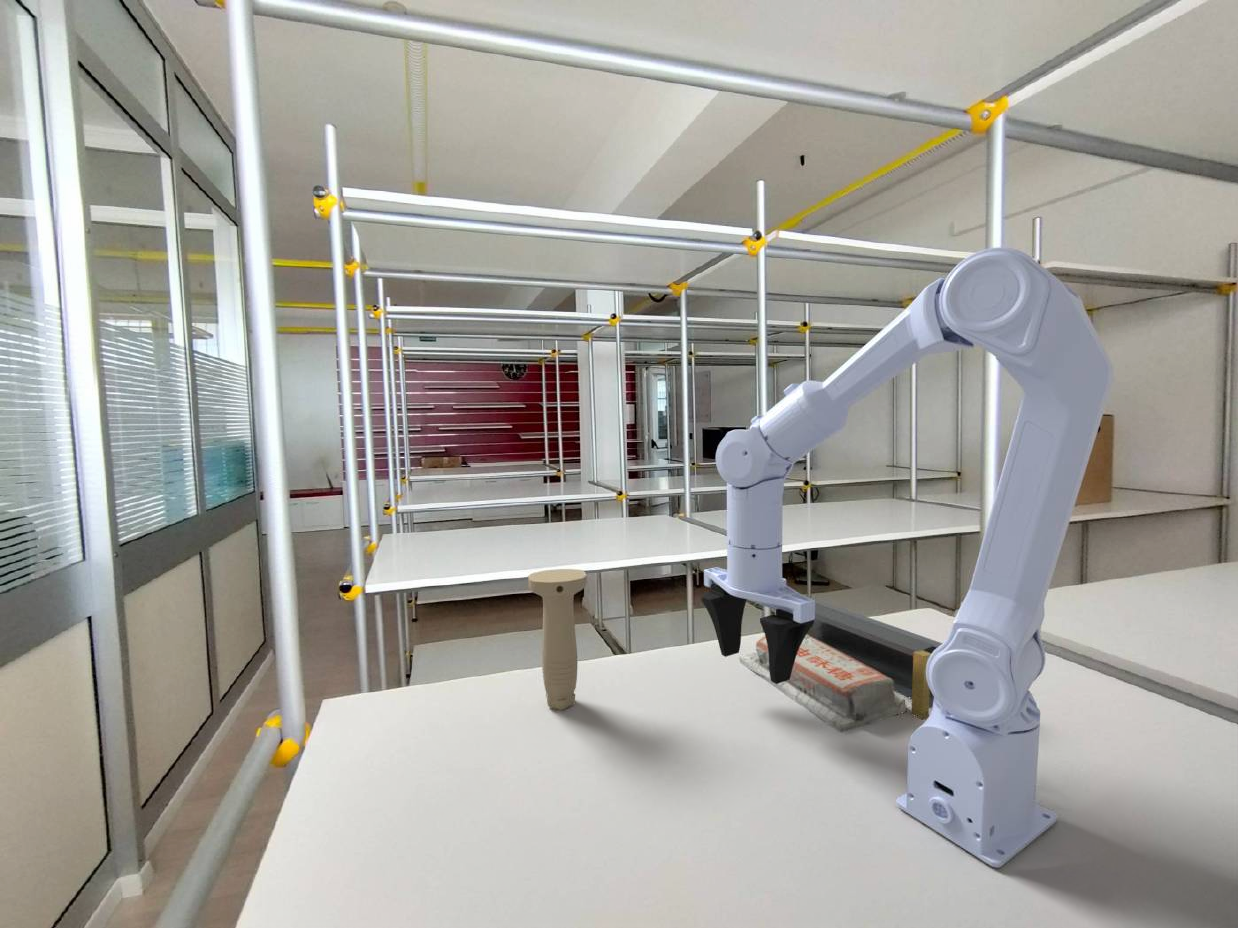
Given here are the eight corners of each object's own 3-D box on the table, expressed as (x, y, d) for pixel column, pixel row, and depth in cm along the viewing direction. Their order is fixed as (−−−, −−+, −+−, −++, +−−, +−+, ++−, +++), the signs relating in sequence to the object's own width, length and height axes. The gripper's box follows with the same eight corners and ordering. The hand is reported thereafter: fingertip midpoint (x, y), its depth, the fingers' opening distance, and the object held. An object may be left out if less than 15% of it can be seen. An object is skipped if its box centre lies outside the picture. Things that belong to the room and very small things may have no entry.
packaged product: (911, 673, 62) (840, 692, 58) (910, 715, 62) (839, 737, 58) (799, 617, 78) (738, 629, 74) (798, 651, 79) (738, 665, 75)
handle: (531, 696, 67) (527, 571, 65) (585, 690, 68) (583, 567, 66) (533, 718, 62) (529, 584, 60) (592, 711, 63) (589, 579, 62)
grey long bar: (922, 719, 61) (924, 656, 60) (774, 649, 79) (775, 599, 78) (947, 706, 63) (950, 645, 62) (799, 641, 81) (799, 593, 80)
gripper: (836, 551, 56) (834, 683, 58) (735, 527, 69) (736, 636, 70) (786, 562, 53) (785, 702, 54) (689, 534, 65) (690, 649, 66)
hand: (754, 666), depth 62 cm, fingers open, 7 cm apart
